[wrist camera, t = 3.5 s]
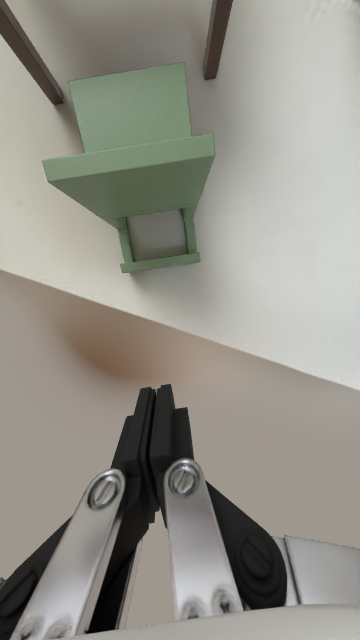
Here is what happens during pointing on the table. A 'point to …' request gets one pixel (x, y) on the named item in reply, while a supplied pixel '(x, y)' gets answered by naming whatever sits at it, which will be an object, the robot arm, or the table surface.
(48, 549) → the robot arm
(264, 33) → the table surface
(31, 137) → the table surface
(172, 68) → the chair
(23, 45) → the side table
